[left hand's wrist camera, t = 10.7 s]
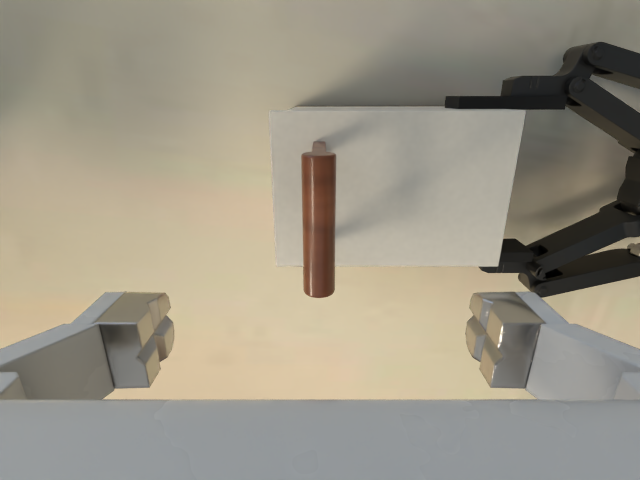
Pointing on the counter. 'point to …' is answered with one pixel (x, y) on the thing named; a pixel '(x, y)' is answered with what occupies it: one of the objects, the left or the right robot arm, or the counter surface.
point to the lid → (390, 188)
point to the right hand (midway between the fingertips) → (442, 181)
